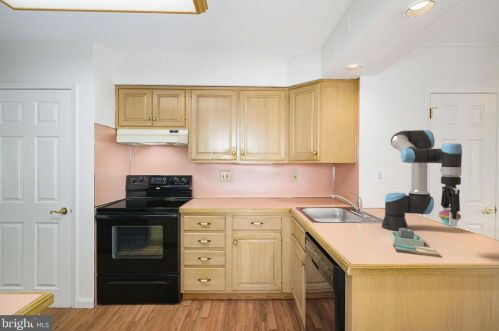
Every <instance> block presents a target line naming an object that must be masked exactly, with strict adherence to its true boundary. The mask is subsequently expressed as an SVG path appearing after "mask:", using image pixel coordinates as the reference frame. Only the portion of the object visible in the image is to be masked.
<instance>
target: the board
mask: <svg viewBox="0 0 499 331" xmlns="http://www.w3.org/2000/svg"><path fill="white" fill-rule="evenodd" d="M392 247H393V249H394V250H395V252H396V253H401V254H402V253H403V254H412V255H419V256H426V257H428V256H429V257H433V258H434V257H435V258H441V254H440V253H439V252H438V251H437V250H436V249H435V248H434V247H429V246H424V247H423V246H414V245H404V244H395V243H394V242H392Z"/></svg>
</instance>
